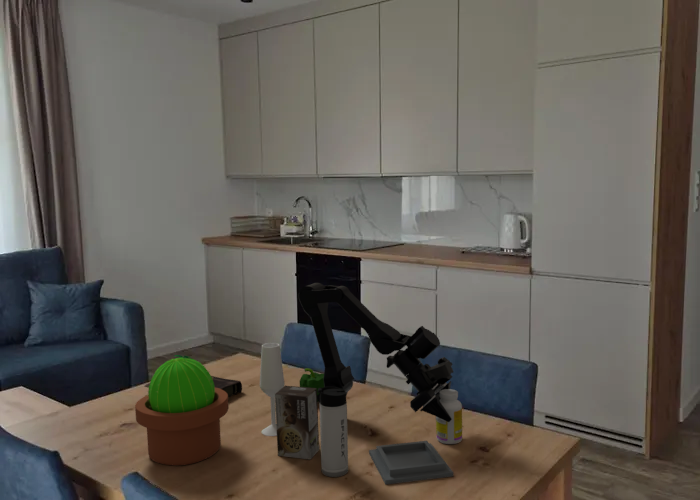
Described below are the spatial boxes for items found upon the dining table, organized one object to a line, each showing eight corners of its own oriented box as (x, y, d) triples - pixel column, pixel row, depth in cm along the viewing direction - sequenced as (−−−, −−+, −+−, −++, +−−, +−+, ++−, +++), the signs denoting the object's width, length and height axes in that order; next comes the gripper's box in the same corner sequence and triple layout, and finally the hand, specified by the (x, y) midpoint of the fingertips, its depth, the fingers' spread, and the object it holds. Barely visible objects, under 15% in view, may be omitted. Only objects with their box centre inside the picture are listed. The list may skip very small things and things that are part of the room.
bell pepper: (332, 398, 194) (331, 366, 192) (317, 406, 187) (316, 374, 186) (310, 393, 198) (309, 363, 197) (295, 401, 191) (294, 370, 190)
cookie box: (320, 449, 157) (318, 387, 155) (310, 460, 151) (308, 396, 149) (287, 445, 160) (285, 384, 158) (276, 455, 154) (274, 392, 152)
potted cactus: (186, 478, 143) (180, 373, 140) (120, 459, 154) (113, 361, 151) (246, 442, 162) (242, 349, 159) (184, 427, 173) (179, 340, 170)
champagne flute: (290, 428, 171) (287, 343, 168) (278, 437, 165) (274, 349, 162) (270, 424, 174) (266, 340, 171) (256, 433, 168) (253, 347, 165)
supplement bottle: (461, 434, 164) (461, 387, 163) (463, 445, 158) (463, 396, 156) (435, 434, 165) (435, 387, 163) (436, 444, 158) (436, 396, 157)
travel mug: (319, 465, 148) (317, 384, 146) (347, 464, 149) (345, 383, 146) (320, 478, 142) (318, 393, 140) (349, 476, 142) (347, 392, 140)
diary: (185, 383, 213) (184, 369, 213) (242, 394, 201) (242, 379, 200) (143, 400, 197) (142, 384, 197) (202, 413, 185) (201, 396, 184)
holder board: (385, 484, 138) (385, 473, 138) (369, 453, 154) (368, 444, 154) (453, 476, 141) (453, 465, 141) (430, 447, 157) (430, 437, 157)
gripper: (421, 360, 152) (466, 410, 148) (444, 341, 168) (485, 386, 165) (392, 387, 156) (434, 436, 153) (417, 366, 173) (456, 410, 169)
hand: (454, 416), depth 160 cm, fingers closed on supplement bottle, 7 cm apart
